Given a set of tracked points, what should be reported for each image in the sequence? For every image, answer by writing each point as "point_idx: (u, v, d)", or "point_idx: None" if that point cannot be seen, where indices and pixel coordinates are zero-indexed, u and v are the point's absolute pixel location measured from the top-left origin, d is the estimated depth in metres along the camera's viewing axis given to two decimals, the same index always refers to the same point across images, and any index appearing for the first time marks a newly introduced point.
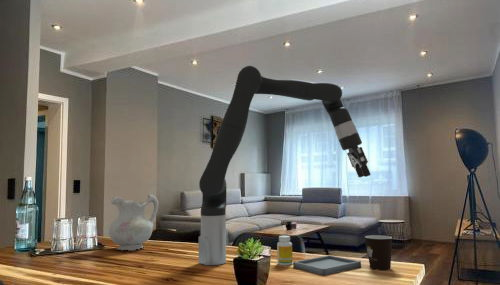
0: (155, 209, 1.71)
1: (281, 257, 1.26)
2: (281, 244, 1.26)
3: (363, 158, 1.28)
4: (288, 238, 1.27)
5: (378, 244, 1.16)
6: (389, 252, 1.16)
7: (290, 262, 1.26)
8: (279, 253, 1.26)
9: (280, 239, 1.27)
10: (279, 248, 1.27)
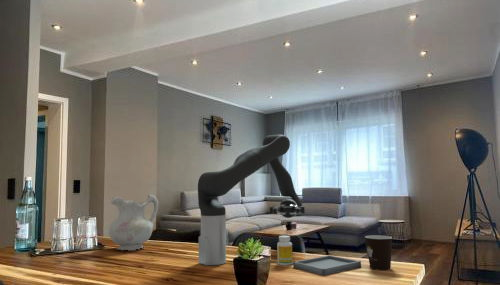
0: (155, 209, 1.71)
1: (281, 257, 1.26)
2: (281, 244, 1.26)
3: None
4: (288, 238, 1.27)
5: (378, 244, 1.16)
6: (389, 252, 1.16)
7: (290, 262, 1.26)
8: (279, 253, 1.26)
9: (280, 239, 1.27)
10: (279, 248, 1.27)
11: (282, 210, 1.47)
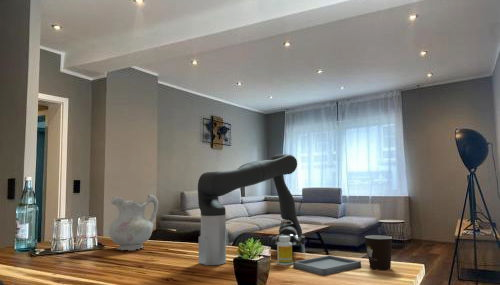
0: (155, 209, 1.71)
1: (281, 257, 1.26)
2: (281, 244, 1.26)
3: None
4: (288, 238, 1.27)
5: (378, 244, 1.16)
6: (389, 252, 1.16)
7: (290, 262, 1.26)
8: (279, 253, 1.26)
9: (280, 239, 1.27)
10: (279, 248, 1.27)
11: None
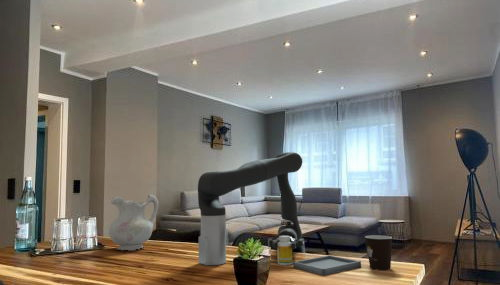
0: (155, 209, 1.71)
1: (281, 257, 1.26)
2: (281, 244, 1.26)
3: None
4: (288, 238, 1.27)
5: (378, 244, 1.16)
6: (389, 252, 1.16)
7: (290, 262, 1.26)
8: (279, 253, 1.26)
9: (280, 239, 1.27)
10: (279, 248, 1.27)
11: None
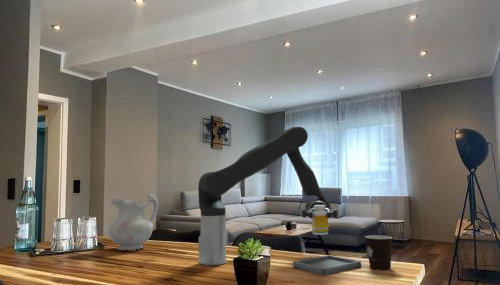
0: (155, 209, 1.71)
1: (317, 226, 1.20)
2: (317, 213, 1.20)
3: None
4: (324, 207, 1.21)
5: (378, 244, 1.16)
6: (389, 252, 1.16)
7: (326, 232, 1.20)
8: (315, 222, 1.20)
9: (315, 208, 1.21)
10: (314, 217, 1.20)
11: None
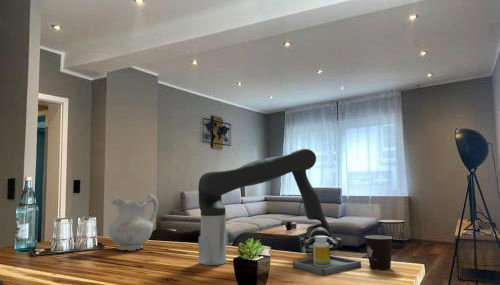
0: (155, 209, 1.71)
1: (319, 258, 1.18)
2: (318, 245, 1.19)
3: (332, 245, 1.24)
4: (325, 238, 1.20)
5: (378, 244, 1.16)
6: (389, 252, 1.16)
7: (328, 264, 1.18)
8: (316, 254, 1.19)
9: (317, 239, 1.20)
10: (316, 249, 1.19)
11: None
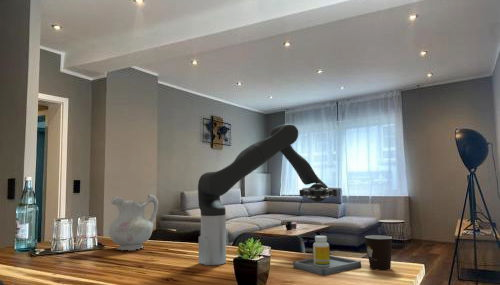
0: (155, 209, 1.71)
1: (319, 258, 1.18)
2: (318, 245, 1.19)
3: (328, 195, 1.39)
4: (325, 238, 1.20)
5: (378, 244, 1.16)
6: (389, 252, 1.16)
7: (328, 264, 1.18)
8: (316, 254, 1.19)
9: (317, 239, 1.20)
10: (316, 249, 1.19)
11: (313, 193, 1.40)
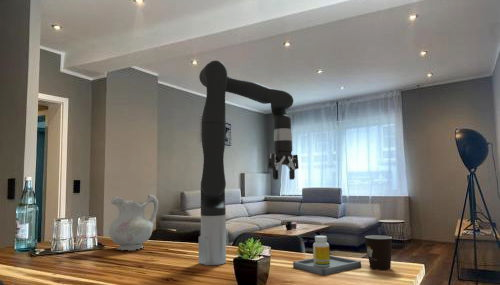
0: (155, 209, 1.71)
1: (319, 258, 1.18)
2: (318, 245, 1.19)
3: None
4: (325, 238, 1.20)
5: (378, 244, 1.16)
6: (389, 252, 1.16)
7: (328, 264, 1.18)
8: (316, 254, 1.19)
9: (317, 239, 1.20)
10: (316, 249, 1.19)
11: None
